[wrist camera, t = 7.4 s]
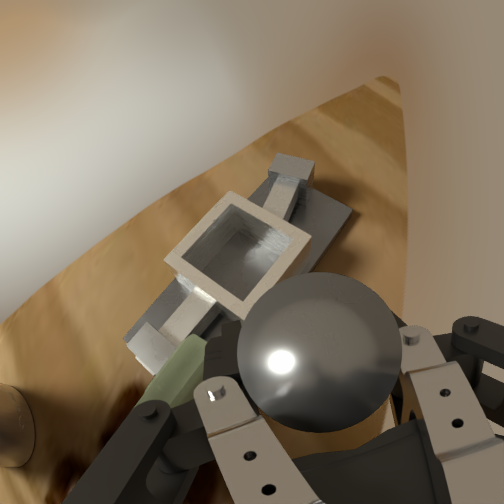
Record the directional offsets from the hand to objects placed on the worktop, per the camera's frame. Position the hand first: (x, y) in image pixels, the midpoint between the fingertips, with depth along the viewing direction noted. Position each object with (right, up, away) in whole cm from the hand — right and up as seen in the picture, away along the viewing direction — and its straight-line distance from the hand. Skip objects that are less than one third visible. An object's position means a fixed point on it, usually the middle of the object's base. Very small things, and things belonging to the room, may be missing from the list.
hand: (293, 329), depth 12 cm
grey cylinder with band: (+1, -4, +3) cm, 5 cm away
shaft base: (-2, +1, +16) cm, 16 cm away
